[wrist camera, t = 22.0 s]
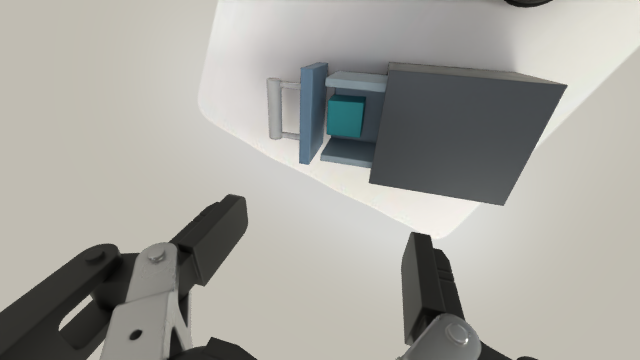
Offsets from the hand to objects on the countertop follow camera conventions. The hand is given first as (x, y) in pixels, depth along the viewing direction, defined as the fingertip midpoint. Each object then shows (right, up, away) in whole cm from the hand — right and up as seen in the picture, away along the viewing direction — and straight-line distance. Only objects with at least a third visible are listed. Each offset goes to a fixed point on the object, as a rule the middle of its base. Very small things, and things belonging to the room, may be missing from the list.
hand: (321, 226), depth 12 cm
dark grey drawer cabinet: (+14, +10, +19) cm, 26 cm away
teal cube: (+4, +11, +19) cm, 22 cm away
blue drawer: (+3, +12, +20) cm, 24 cm away
